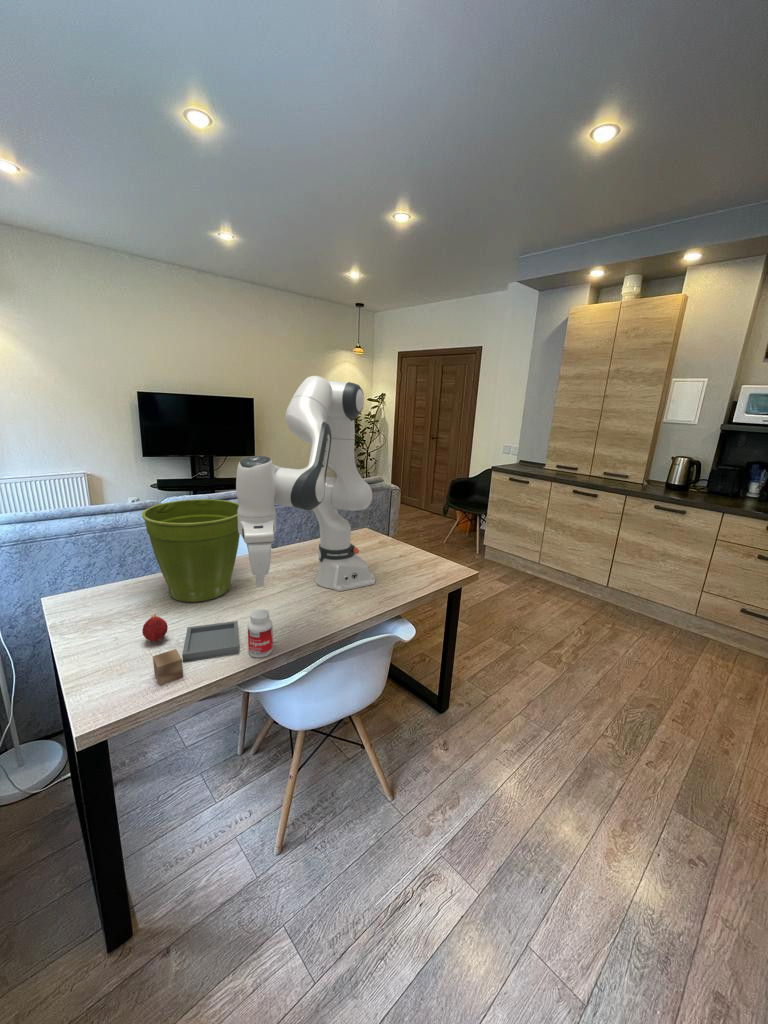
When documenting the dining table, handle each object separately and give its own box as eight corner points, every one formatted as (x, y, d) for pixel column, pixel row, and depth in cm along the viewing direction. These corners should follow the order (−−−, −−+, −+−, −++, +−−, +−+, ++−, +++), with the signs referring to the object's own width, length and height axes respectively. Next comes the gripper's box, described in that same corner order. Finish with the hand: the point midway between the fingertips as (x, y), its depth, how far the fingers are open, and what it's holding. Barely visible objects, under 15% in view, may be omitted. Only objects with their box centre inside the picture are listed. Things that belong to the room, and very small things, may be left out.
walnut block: (177, 666, 96) (176, 648, 95) (183, 677, 93) (181, 659, 91) (154, 674, 93) (152, 656, 92) (159, 686, 89) (157, 667, 88)
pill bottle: (246, 659, 100) (245, 620, 98) (249, 645, 106) (248, 608, 103) (272, 657, 102) (271, 619, 99) (273, 643, 107) (273, 607, 105)
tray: (237, 627, 114) (237, 620, 114) (238, 653, 102) (238, 646, 102) (188, 634, 110) (187, 627, 109) (182, 662, 98) (182, 654, 97)
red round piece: (172, 641, 106) (169, 615, 104) (148, 650, 102) (145, 622, 100) (163, 633, 109) (161, 607, 107) (140, 641, 105) (137, 614, 103)
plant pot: (161, 576, 144) (154, 499, 137) (247, 570, 153) (244, 498, 146) (139, 617, 117) (129, 524, 109) (245, 607, 126) (242, 520, 118)
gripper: (242, 513, 103) (244, 562, 107) (244, 538, 85) (246, 596, 88) (267, 512, 105) (268, 560, 109) (274, 536, 87) (275, 593, 91)
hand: (258, 577), depth 99 cm, fingers open, 8 cm apart
